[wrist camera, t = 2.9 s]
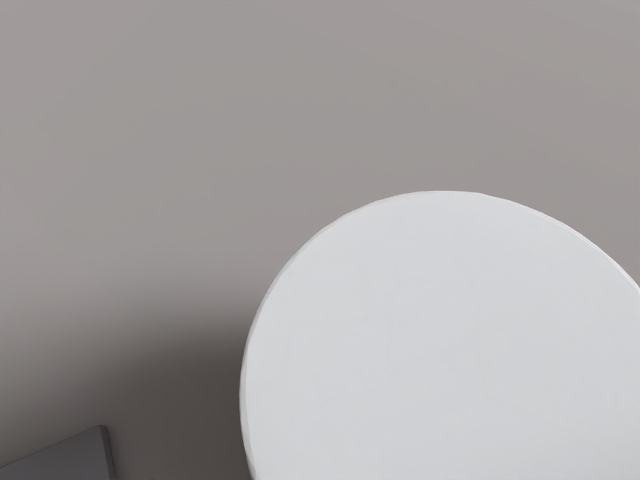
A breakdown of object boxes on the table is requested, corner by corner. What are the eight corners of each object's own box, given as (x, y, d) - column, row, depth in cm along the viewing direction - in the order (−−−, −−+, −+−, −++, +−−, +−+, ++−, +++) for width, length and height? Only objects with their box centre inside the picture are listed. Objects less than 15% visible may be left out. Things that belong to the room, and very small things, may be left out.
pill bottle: (273, 399, 16) (92, 292, 6) (427, 302, 17) (495, 62, 7) (378, 600, 13) (368, 998, 3) (554, 475, 14) (970, 500, 4)
